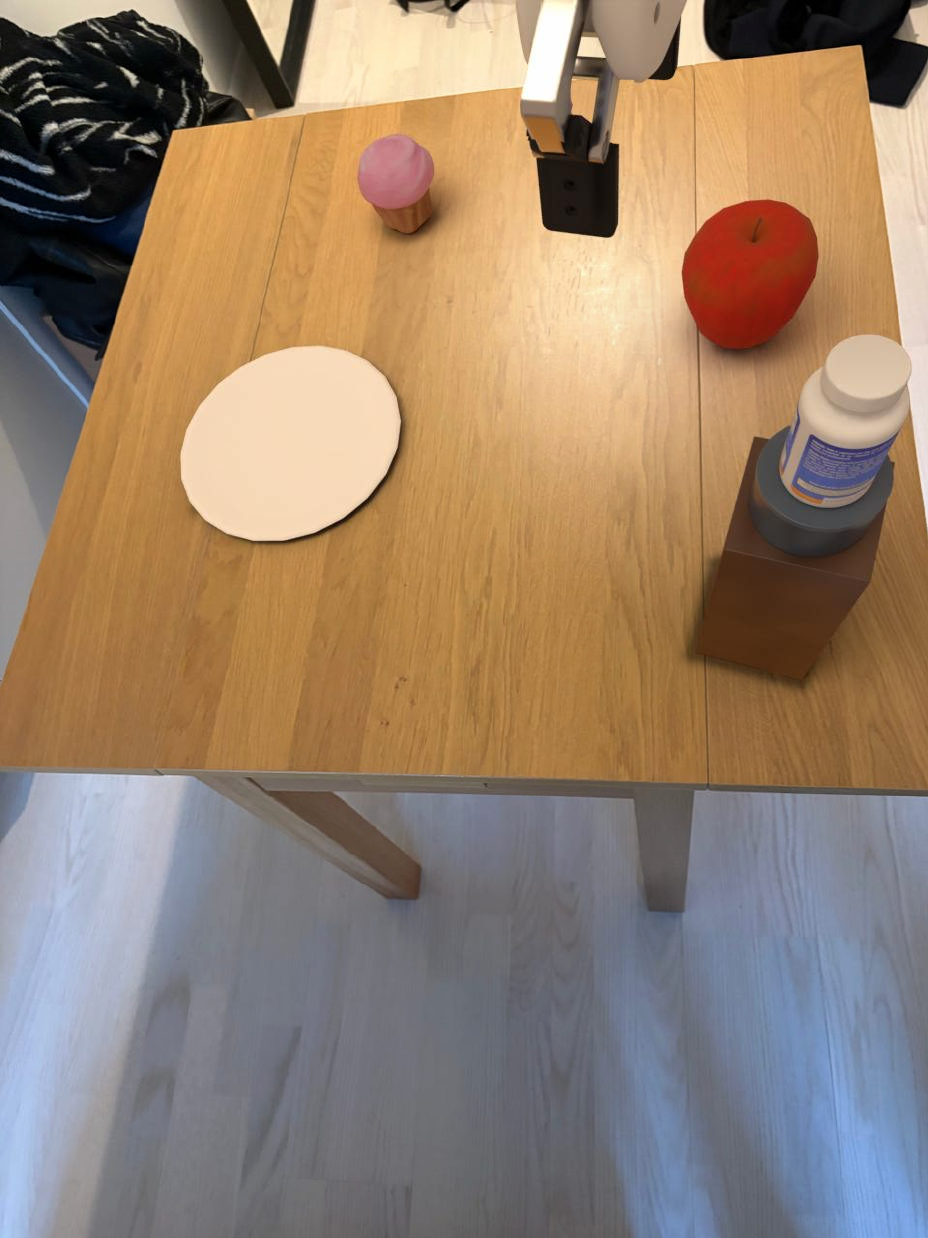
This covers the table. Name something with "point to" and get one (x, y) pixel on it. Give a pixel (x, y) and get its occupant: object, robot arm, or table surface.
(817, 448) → the pill bottle
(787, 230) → the apple
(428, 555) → the table surface
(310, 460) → the plate
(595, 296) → the table surface
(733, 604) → the stand
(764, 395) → the table surface
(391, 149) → the cupcake
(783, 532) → the tin
